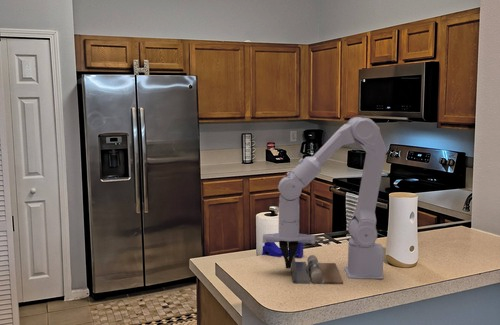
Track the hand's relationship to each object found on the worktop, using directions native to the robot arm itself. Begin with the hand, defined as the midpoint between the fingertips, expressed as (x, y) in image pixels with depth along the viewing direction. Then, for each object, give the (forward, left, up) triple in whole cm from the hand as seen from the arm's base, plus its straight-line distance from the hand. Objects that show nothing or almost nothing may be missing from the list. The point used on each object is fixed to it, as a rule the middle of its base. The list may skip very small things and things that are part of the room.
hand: (288, 267), depth 135 cm
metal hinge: (-5, 0, -2) cm, 5 cm away
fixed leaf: (-10, 0, -2) cm, 10 cm away
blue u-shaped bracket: (+1, -16, -2) cm, 16 cm away
